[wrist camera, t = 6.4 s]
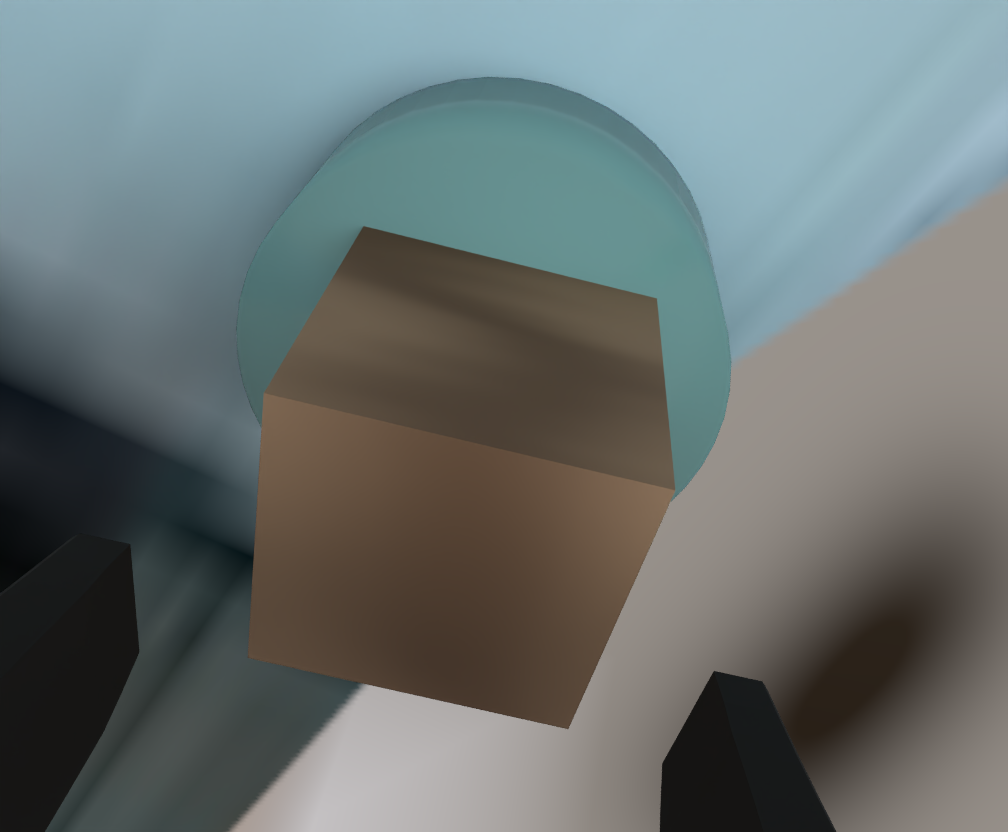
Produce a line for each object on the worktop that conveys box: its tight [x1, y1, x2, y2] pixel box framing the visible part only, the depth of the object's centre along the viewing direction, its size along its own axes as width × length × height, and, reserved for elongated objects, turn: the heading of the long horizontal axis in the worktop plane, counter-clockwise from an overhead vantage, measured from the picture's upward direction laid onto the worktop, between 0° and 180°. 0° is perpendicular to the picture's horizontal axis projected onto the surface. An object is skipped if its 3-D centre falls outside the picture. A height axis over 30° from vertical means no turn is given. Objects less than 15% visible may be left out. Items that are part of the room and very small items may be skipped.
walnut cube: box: [248, 226, 675, 729], centre depth 14 cm, size 5×5×5 cm
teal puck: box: [236, 77, 731, 502], centre depth 17 cm, size 9×9×4 cm
